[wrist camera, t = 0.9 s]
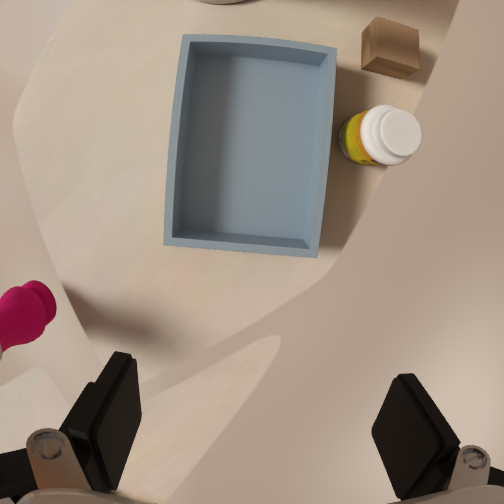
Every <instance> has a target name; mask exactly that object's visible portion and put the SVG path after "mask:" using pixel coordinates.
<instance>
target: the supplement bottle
mask: <svg viewBox="0 0 504 504" xmlns="http://www.w3.org/2000/svg"><path fill="white" fill-rule="evenodd" d="M421 141H422V131H421V127H420V124H419V122H418V121H417V119H416V118H415V117H414V116H413V115H412V114H411V113H409V112H408V111H405V110H402V109H400V108H398V107H396V106H393V105H388V104H383V105H378V106H376V107H373V108H371V109H369V110H366V111H364V112H362V113H359V114H357V115H355V116H353V117H351V118H349V119H348V120H346V121H345V122H344V124H343V125H342V127H341V129H340V132H339V145H340V148H341V150H342V152H343V154H344V155H345V156H346V157H347V158H348V159H349V160H350V161H352V162H354V163H356V164H359V165H388V166H393V165H398V164H402V163H404V162H405V161H407V160H408V159H409V158H410V157H411V156H412V154H413V153H414V152H416V151H417V150H418V148H419V146H420V144H421Z"/></svg>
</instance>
